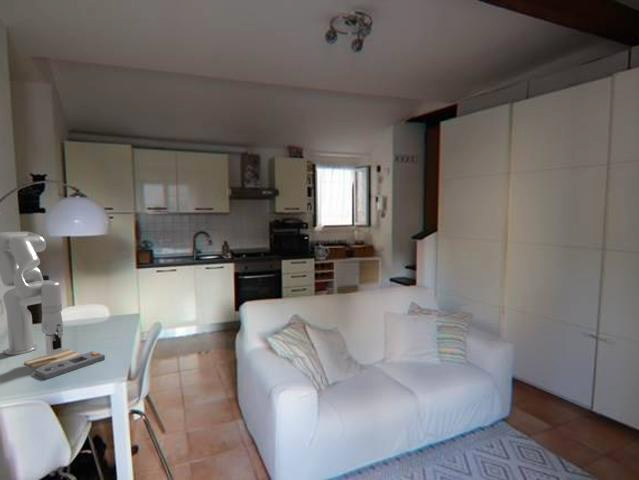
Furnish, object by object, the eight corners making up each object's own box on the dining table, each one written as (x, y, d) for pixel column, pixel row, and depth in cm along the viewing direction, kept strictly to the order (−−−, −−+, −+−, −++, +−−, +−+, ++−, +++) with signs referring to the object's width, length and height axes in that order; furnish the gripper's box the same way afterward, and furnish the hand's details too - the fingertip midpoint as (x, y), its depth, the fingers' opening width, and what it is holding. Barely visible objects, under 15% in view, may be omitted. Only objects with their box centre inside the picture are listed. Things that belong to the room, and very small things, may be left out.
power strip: (34, 374, 156) (34, 368, 156) (92, 355, 177) (92, 350, 177) (46, 379, 151) (46, 373, 151) (104, 359, 172) (104, 354, 172)
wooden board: (24, 363, 167) (24, 361, 167) (67, 350, 183) (67, 349, 182) (39, 370, 160) (39, 368, 160) (82, 356, 176) (82, 354, 176)
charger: (46, 354, 170) (45, 333, 169) (57, 351, 174) (56, 331, 173) (51, 356, 168) (50, 335, 167) (62, 352, 172) (61, 332, 171)
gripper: (33, 308, 171) (36, 347, 172) (52, 313, 162) (54, 353, 163) (51, 305, 177) (54, 342, 178) (70, 309, 169) (72, 348, 170)
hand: (54, 347), depth 171 cm, fingers closed on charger, 4 cm apart
